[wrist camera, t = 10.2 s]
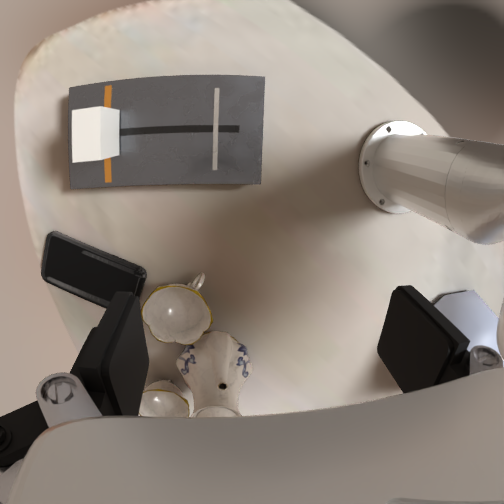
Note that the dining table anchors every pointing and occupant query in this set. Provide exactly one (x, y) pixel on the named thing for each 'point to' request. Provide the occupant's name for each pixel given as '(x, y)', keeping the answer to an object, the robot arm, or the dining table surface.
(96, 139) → the fader tab
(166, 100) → the fader console
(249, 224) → the dining table surface
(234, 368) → the chinaware
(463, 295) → the bottle
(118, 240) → the dining table surface
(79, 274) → the phone
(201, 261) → the dining table surface
